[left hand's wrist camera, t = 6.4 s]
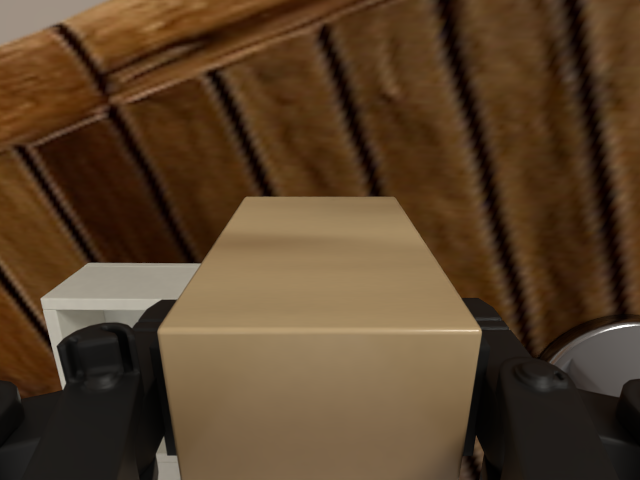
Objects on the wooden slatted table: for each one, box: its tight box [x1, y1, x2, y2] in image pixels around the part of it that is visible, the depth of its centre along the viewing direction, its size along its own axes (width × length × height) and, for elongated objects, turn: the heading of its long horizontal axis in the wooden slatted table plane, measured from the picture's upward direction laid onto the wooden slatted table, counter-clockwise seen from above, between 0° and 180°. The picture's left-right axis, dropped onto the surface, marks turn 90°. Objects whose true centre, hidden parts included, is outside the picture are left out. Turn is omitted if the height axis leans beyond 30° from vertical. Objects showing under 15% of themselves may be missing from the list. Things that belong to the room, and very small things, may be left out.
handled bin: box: [41, 263, 201, 480], centre depth 29 cm, size 26×13×12 cm, turn 0°
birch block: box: [157, 197, 482, 480], centre depth 11 cm, size 5×5×8 cm
